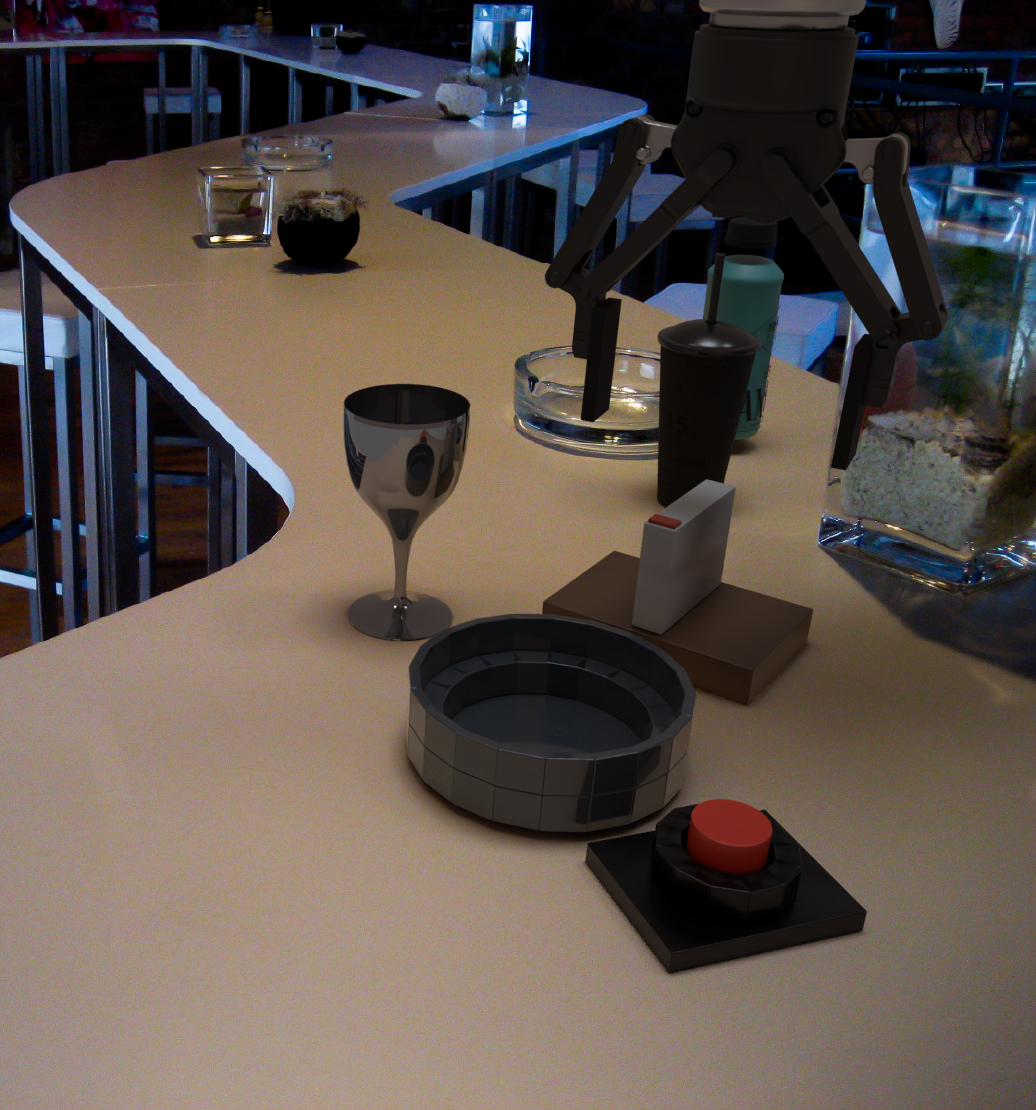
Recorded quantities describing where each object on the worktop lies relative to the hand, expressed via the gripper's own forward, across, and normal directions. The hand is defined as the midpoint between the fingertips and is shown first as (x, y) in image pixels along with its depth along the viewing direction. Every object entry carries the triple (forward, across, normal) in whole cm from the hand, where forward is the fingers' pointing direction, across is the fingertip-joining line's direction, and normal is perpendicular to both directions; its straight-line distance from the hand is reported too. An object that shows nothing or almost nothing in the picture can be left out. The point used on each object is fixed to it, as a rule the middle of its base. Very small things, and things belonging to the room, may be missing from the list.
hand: (713, 437), depth 71 cm
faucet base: (+16, -2, +7) cm, 18 cm away
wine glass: (+17, -19, 0) cm, 25 cm away
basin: (+16, -4, -10) cm, 20 cm away
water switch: (+16, +7, -17) cm, 25 cm away
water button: (+14, +7, -17) cm, 23 cm away
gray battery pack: (+14, -2, +7) cm, 15 cm away
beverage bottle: (+16, -9, +44) cm, 48 cm away
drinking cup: (+17, -8, +30) cm, 35 cm away
